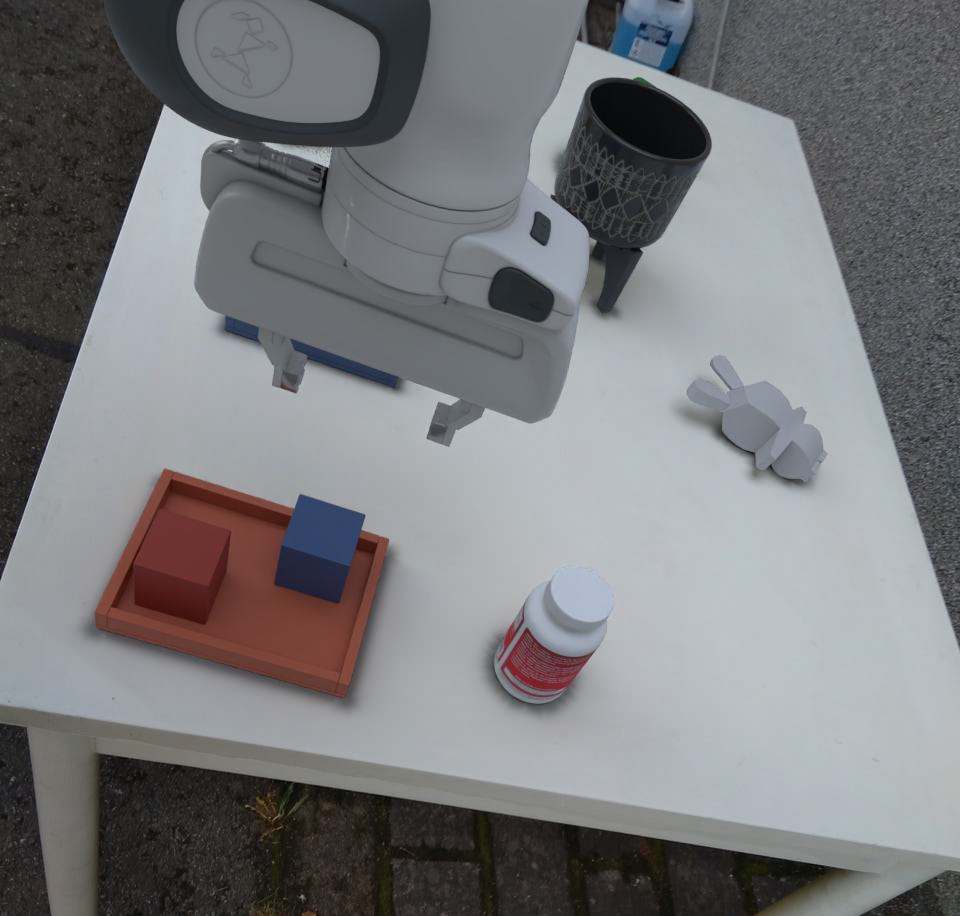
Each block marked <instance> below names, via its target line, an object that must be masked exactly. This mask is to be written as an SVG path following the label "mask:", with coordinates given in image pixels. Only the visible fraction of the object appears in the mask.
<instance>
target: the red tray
mask: <svg viewBox="0 0 960 916" xmlns="http://www.w3.org/2000/svg"><path fill="white" fill-rule="evenodd" d="M159 509H163V510H166V511H169V512H173V513H176V514H179V515H182V516H186V517H189V518H192V519H196V520H199V521H202V522H205V523H209V524H212V525H215V526H218V527H222V528H225V529H228V530H231V536H230V545H229V554H228V563H227V571H226V574H225V576H224V579H223V581H222V584H221V587H220V589H219V592H218V594H217V597H216V599H215V602H214V604H213V607H212V609H211V612H210V614H209V617H208V619H207V622H206V624H205V625H203V624H200V623H197V622H193V621H190V620H186V619H183V618H179V617H176V616H172V615H169V614H165V613H162V612H159V611H155V610H152V609H148V608H145V607H141V606H138V605H135V598H134V565H133V564H134V562H135V559H136V557H137V555H138V553H139V551H140V549H141V547H142V544H143V542H144V540H145V538H146V536H147V534H148V532H149V530H150V527H151V525H152V523H153V521H154V519H155V517H156V515H157V513H158V510H159ZM293 511H294V508H292V507H289V506H286V505H283V504H280V503H277V502H274V501H270V500H267V499H264V498H261V497H258V496H255V495H252V494H249V493H245V492H243V491H238V490H235V489H232V488H230V487H226V486H223V485H219V484H216V483H213V482H210V481H207V480H203V479H200V478H197V477H194V476H191V475H188V474H185V473H182V472H177V471H175V470H173V469H172V470H171V469H168V468H163V470H162V472H161V473H160V476H159V478H158V480H157V482H156V484H155V486H154V488H153V491H152V492H151V494H150V497H149V499H148V501H147V503H146V505H145V507H144V509H143V511H142V513H141V515H140V517H139V519H138V521H137V524H136V525H135V527H134V530H133V532H132V534H131V536H130V538H129V540H128V542H127V543H126V547H125V548H124V551H123V552H122V555H121V557H120V559H119V561H118V563H117V565H116V567H115V569H114V571H113V573H112V575H111V577H110V580H109V581H108V584H107V585H106V588H105V590H104V592H103V595H102V596H101V598H100V600H99V602H98V605H97V606H96V609H95V611H94V620H95V628H96V629H100V630H102V631H106V632H110V633H114V634H116V635H120V636H124V637H127V638H131V639H134V640H139V641H142V642H145V643H149V644H151V645H156V646H159V647H163V648H167V649H170V650H174V651H177V652H181V653H184V654H187V655H191V656H195V657H197V658H201V659H205V660H208V661H212V662H216V663H219V664H222V665H225V666H226V665H227V666H230V667H233V668H237V669H240V670H244V671H247V672H251V673H253V674H258V675H261V676H265V677H268V678H272V679H275V680H280V681H283V682H286V683H290V684H293V685H297V686H300V687H304V688H308V689H311V690H315V691H318V692H321V693H325V694H329V695H332V696H336V697H339V698H343V699H345V698H346V696H347V693H348V690H349V687H350V685H351V681H352V678H353V674H354V671H355V667H356V663H357V659H358V656H359V653H360V648H361V645H362V641H363V637H364V634H365V630H366V627H367V623H368V620H369V616H370V612H371V608H372V605H373V601H374V597H375V594H376V590H377V586H378V583H379V580H380V576H381V573H382V569H383V565H384V562H385V557H386V554H387V550H388V547H389V542H390V538H388V537H385V536H381V535H379V534H375V533H373V532H370V531H366V530H364V529H361V533H360V536H359V539H358V543H357V546H356V549H355V553H354V556H353V559H352V563H351V566H350V569H349V573H348V576H347V579H346V582H345V586H344V589H343V592H342V596H341V599H340V602H339V604H338V603H334V602H331V601H328V600H324V599H321V598H318V597H314V596H311V595H308V594H304V593H301V592H298V591H294V590H291V589H288V588H284V587H281V586H277V585H275V584H274V580H275V575H276V570H277V565H278V559H279V554H280V549H281V544H282V541H283V539H284V536H285V533H286V530H287V528H288V525H289V522H290V519H291V516H292V514H293Z"/></svg>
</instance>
